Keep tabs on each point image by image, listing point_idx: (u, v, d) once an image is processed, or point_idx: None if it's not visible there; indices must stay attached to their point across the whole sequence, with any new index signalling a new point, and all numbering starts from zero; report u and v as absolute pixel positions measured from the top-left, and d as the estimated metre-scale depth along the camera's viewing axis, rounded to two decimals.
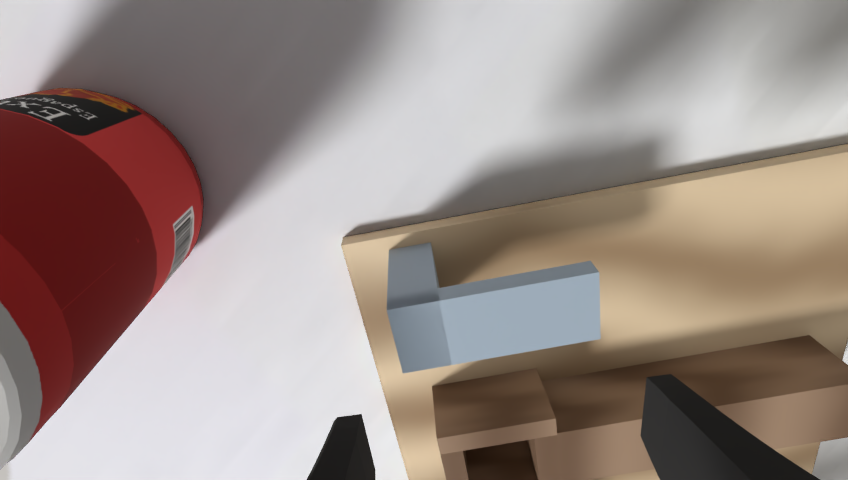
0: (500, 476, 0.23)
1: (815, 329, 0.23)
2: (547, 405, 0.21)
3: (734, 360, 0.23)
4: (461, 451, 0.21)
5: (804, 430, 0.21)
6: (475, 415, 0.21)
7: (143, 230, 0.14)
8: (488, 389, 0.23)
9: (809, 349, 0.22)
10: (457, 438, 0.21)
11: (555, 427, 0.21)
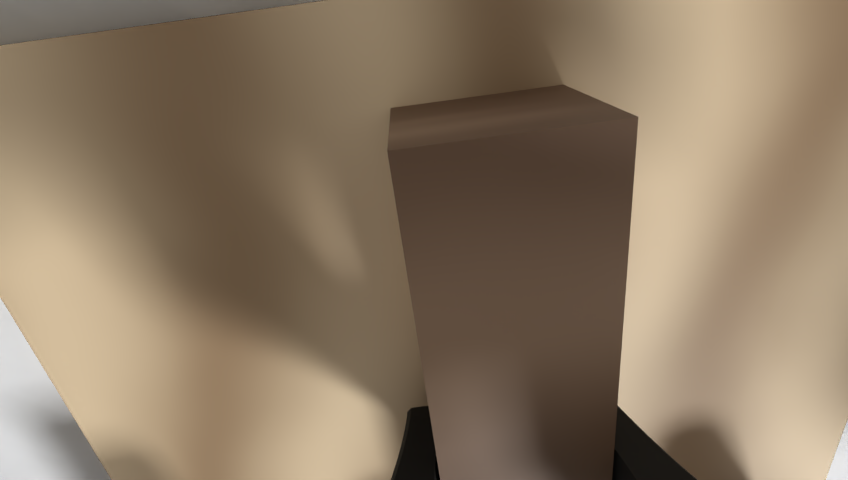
0: None
1: (373, 98, 0.09)
2: None
3: None
4: None
5: (567, 272, 0.07)
6: None
7: None
8: None
9: None
10: None
11: None
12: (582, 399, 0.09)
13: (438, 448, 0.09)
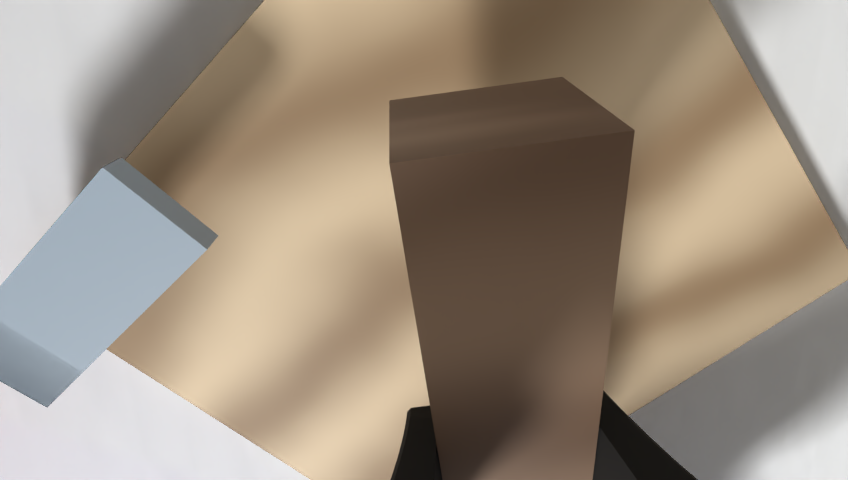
0: None
1: (664, 56, 0.14)
2: None
3: None
4: None
5: (560, 272, 0.08)
6: None
7: None
8: None
9: None
10: None
11: None
12: (571, 383, 0.09)
13: (436, 426, 0.10)
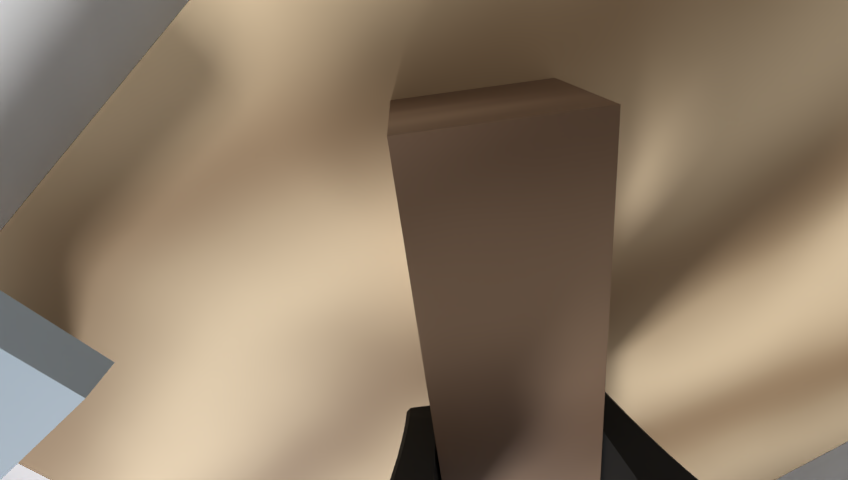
0: None
1: (783, 75, 0.10)
2: None
3: None
4: None
5: (556, 252, 0.08)
6: None
7: None
8: None
9: None
10: None
11: None
12: (572, 375, 0.09)
13: (435, 423, 0.09)
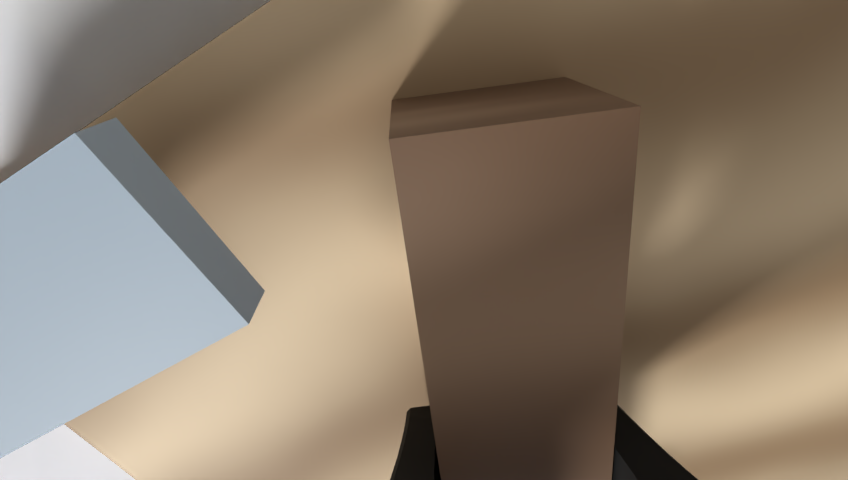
0: None
1: None
2: None
3: None
4: None
5: (568, 263, 0.07)
6: None
7: None
8: None
9: None
10: None
11: None
12: (583, 391, 0.08)
13: (438, 441, 0.09)
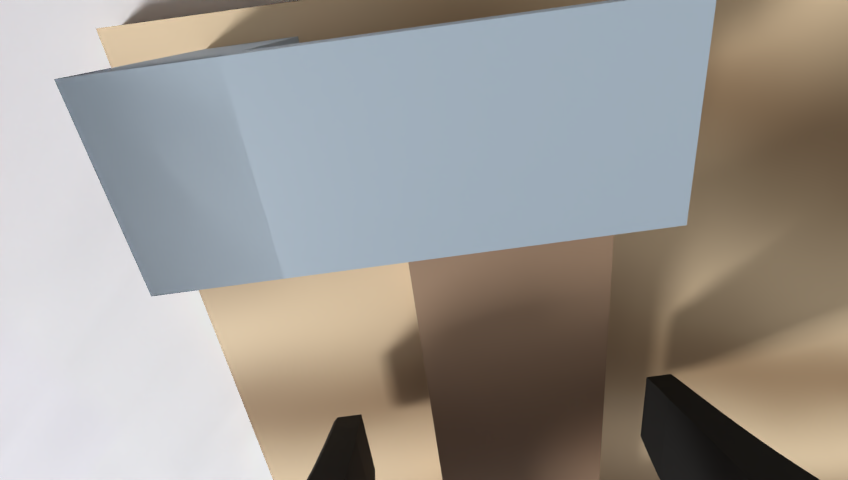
0: None
1: None
2: None
3: None
4: None
5: None
6: None
7: None
8: None
9: None
10: None
11: None
12: (572, 364, 0.09)
13: (435, 413, 0.09)
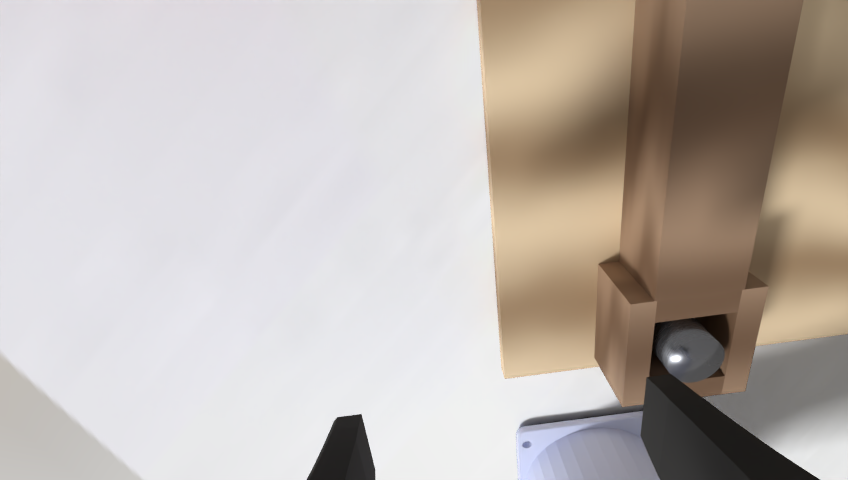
0: (717, 334, 0.20)
1: None
2: (621, 296, 0.19)
3: (644, 32, 0.16)
4: None
5: None
6: (615, 358, 0.20)
7: None
8: (603, 321, 0.21)
9: None
10: (628, 390, 0.20)
11: (644, 303, 0.18)
12: (772, 51, 0.14)
13: (678, 91, 0.14)
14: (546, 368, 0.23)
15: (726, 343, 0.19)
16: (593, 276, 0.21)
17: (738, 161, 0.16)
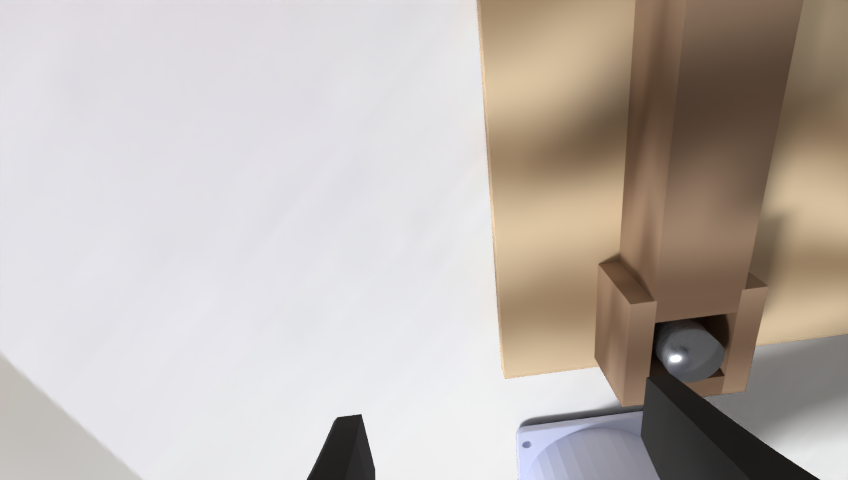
0: (717, 334, 0.20)
1: None
2: (621, 296, 0.19)
3: (644, 32, 0.16)
4: None
5: None
6: (615, 358, 0.20)
7: None
8: (603, 321, 0.21)
9: None
10: (628, 390, 0.20)
11: (644, 303, 0.18)
12: (772, 51, 0.14)
13: (678, 91, 0.14)
14: (546, 368, 0.23)
15: (726, 343, 0.19)
16: (593, 276, 0.21)
17: (738, 161, 0.16)
